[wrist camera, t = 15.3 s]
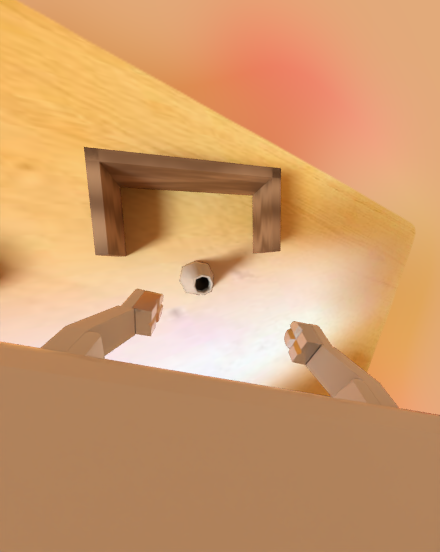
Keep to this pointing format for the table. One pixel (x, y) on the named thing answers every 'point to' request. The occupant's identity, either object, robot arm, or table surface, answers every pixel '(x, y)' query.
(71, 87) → the table surface
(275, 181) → the u-shaped enclosure
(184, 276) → the flask
